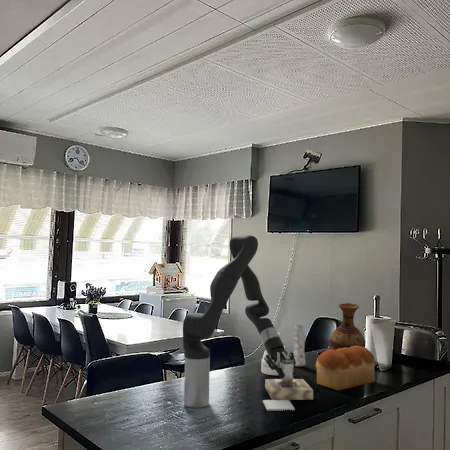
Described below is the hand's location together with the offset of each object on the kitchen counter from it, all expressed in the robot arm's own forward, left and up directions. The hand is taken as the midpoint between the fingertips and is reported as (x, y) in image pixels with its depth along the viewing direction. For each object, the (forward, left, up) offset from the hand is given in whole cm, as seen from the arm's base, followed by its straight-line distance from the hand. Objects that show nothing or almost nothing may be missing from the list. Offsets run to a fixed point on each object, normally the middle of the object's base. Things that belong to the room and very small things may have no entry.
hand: (288, 376), depth 184 cm
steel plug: (0, +1, -6) cm, 6 cm away
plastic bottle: (+15, +45, -7) cm, 48 cm away
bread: (+29, +16, -7) cm, 34 cm away
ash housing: (0, +1, -7) cm, 7 cm away
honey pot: (+1, +35, -7) cm, 36 cm away
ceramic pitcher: (+45, +60, -7) cm, 75 cm away
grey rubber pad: (-7, -14, -7) cm, 17 cm away
